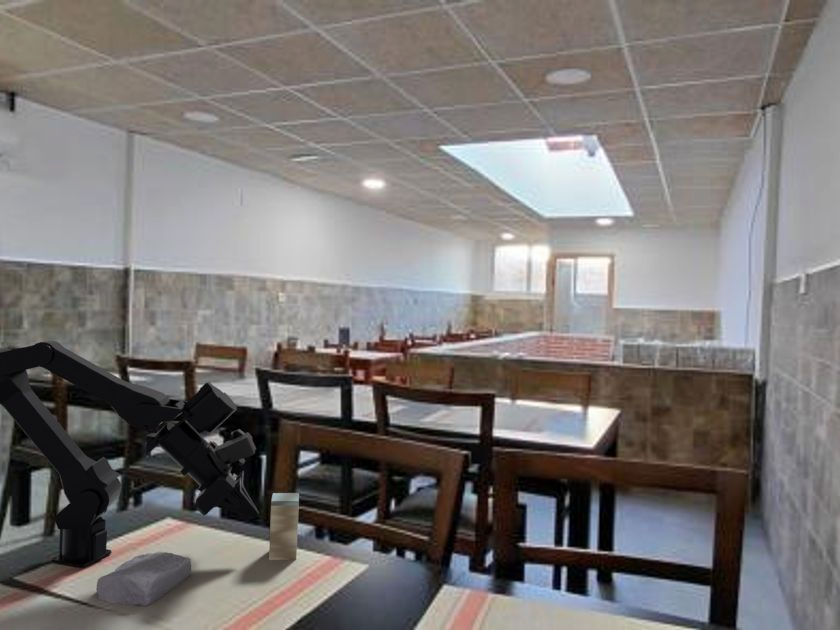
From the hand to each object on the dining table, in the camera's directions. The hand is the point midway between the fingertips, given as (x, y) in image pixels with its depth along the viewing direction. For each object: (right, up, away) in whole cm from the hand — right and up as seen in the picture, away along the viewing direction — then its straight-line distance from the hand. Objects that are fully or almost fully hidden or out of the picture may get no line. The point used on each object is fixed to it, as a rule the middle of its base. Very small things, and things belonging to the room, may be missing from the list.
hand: (256, 515), depth 110 cm
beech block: (+4, -7, +1) cm, 8 cm away
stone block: (-14, -7, -13) cm, 20 cm away
